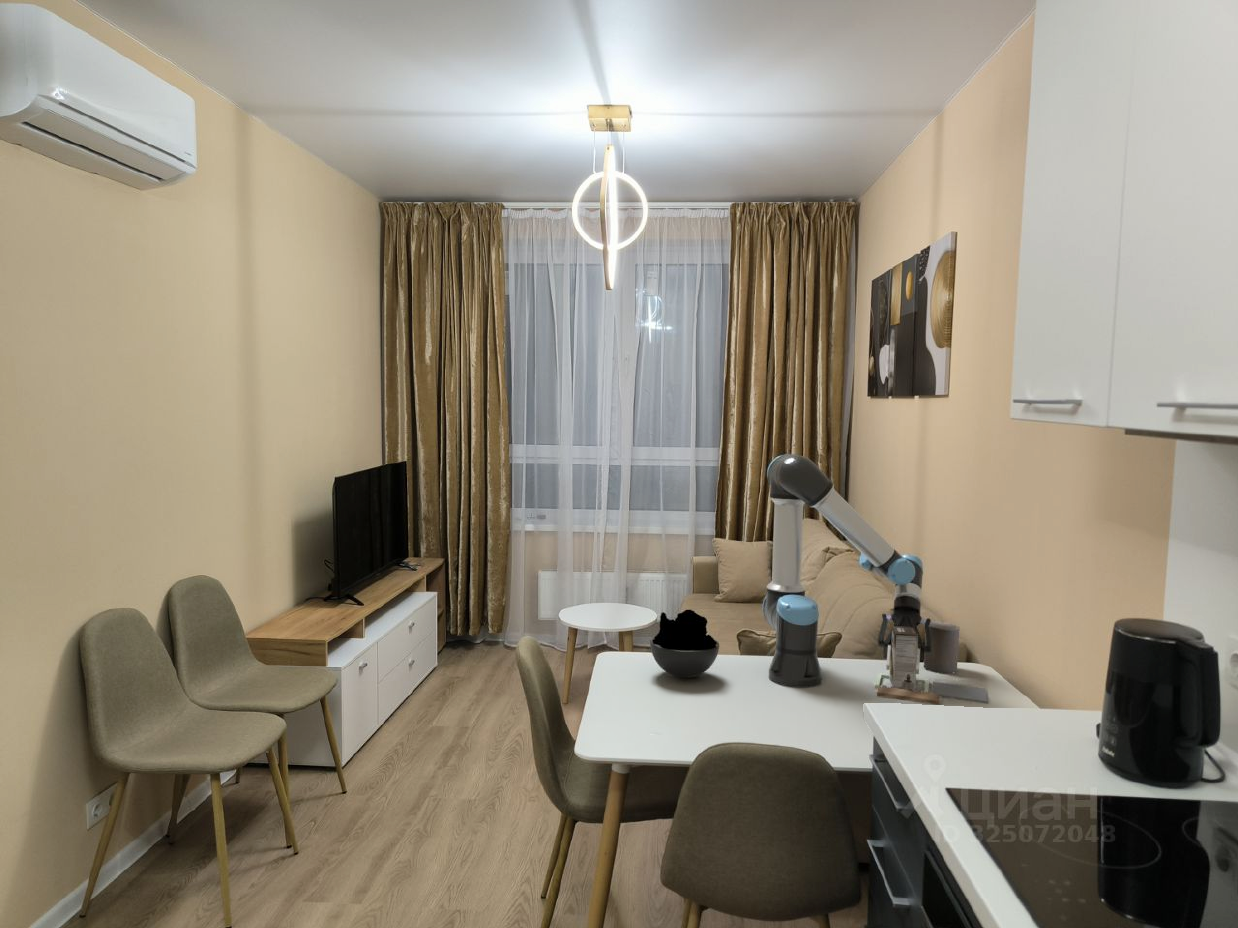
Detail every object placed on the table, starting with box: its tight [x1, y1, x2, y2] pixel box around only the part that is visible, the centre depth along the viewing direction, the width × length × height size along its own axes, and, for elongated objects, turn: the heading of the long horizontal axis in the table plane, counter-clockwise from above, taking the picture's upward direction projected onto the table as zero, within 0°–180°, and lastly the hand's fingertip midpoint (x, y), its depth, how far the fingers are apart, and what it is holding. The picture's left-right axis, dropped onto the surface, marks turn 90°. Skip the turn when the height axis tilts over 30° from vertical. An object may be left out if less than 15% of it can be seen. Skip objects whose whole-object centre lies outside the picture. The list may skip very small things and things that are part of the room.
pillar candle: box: [923, 620, 961, 674], centre depth 247 cm, size 10×10×15 cm
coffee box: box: [889, 625, 918, 691], centre depth 229 cm, size 9×6×16 cm
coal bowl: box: [649, 609, 720, 679], centre depth 232 cm, size 20×20×19 cm
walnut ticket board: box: [876, 685, 941, 706], centre depth 220 cm, size 16×6×1 cm, turn 68°
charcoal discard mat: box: [931, 681, 989, 704], centre depth 224 cm, size 14×12×1 cm
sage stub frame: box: [874, 672, 930, 693], centre depth 230 cm, size 14×12×1 cm
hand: (902, 669), depth 226 cm, fingers closed on coffee box, 7 cm apart
